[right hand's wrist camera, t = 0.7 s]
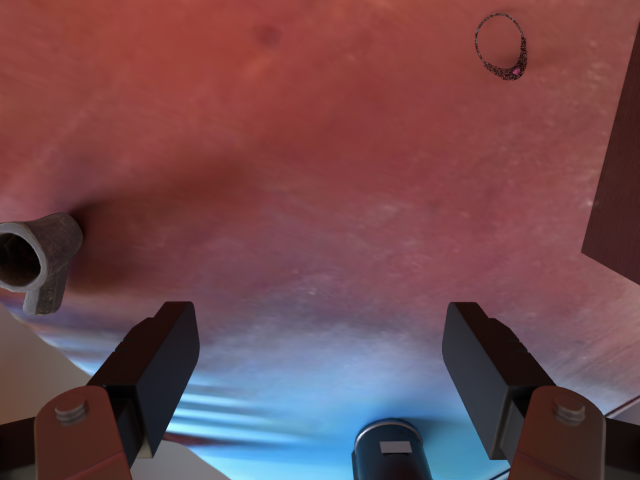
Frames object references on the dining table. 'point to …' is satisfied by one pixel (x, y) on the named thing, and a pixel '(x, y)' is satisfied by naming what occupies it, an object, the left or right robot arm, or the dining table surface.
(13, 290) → the pipe
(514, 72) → the necklace
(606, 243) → the box
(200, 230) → the dining table surface
